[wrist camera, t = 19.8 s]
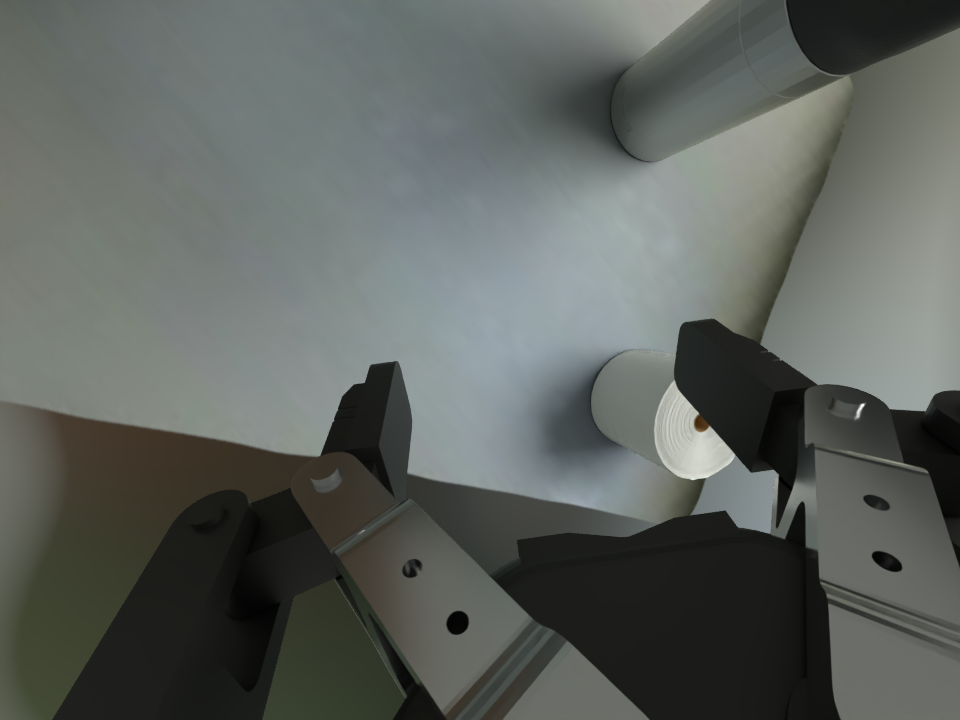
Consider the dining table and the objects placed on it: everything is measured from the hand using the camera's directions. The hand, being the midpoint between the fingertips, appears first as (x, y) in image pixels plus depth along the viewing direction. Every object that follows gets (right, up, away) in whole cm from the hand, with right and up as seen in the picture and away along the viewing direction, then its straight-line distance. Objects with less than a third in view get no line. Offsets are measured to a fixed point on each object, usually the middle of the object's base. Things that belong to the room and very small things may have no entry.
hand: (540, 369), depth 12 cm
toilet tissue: (+15, -3, +34) cm, 38 cm away
